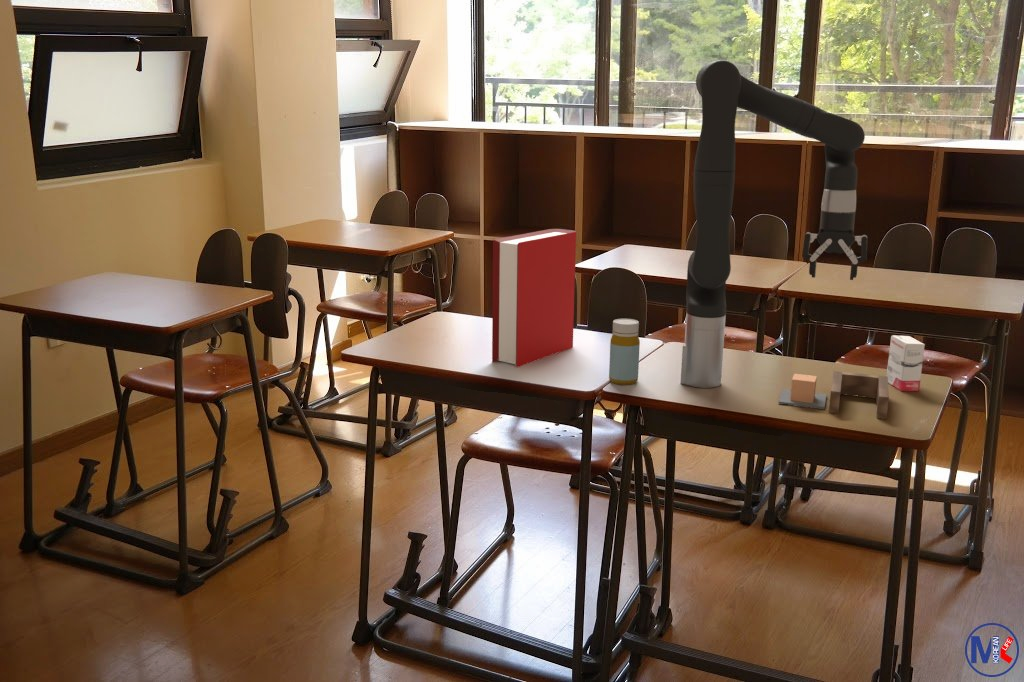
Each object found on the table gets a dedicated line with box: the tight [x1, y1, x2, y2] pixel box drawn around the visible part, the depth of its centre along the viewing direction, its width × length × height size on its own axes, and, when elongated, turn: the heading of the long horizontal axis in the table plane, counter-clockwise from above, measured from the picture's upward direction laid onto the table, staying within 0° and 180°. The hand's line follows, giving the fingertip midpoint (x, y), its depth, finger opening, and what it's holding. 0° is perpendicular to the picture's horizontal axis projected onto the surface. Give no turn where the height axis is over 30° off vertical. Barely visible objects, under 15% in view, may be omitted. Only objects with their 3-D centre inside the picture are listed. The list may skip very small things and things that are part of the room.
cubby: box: [828, 370, 890, 420], centre depth 219 cm, size 12×17×5 cm
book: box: [491, 228, 577, 368], centre depth 255 cm, size 27×8×32 cm, turn 143°
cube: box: [790, 373, 818, 403], centre depth 221 cm, size 5×5×5 cm
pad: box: [778, 388, 827, 410], centre depth 222 cm, size 10×10×1 cm
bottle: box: [608, 318, 641, 386], centre depth 233 cm, size 7×7×15 cm
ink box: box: [886, 334, 926, 392], centre depth 233 cm, size 8×5×12 cm, turn 3°
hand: (832, 278), depth 227 cm, fingers open, 8 cm apart
